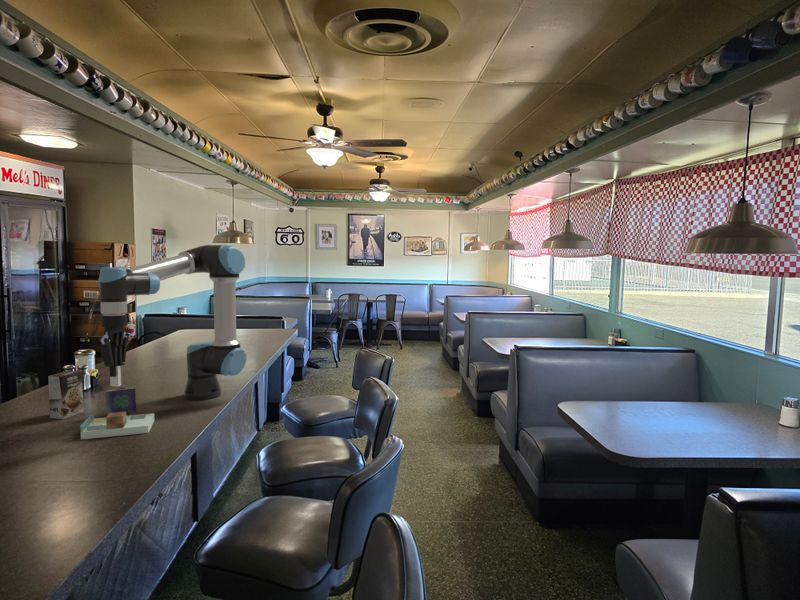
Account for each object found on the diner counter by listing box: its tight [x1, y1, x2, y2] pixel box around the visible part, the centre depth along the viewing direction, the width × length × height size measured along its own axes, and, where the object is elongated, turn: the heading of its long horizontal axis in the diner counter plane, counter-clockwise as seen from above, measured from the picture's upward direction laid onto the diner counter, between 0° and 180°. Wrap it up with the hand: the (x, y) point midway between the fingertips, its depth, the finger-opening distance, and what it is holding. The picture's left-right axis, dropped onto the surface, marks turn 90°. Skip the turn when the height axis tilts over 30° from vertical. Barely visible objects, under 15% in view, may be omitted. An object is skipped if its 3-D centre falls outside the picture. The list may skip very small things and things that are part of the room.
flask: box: [105, 382, 137, 417], centre depth 189 cm, size 10×3×12 cm, turn 121°
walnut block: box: [105, 412, 127, 429], centre depth 168 cm, size 5×5×4 cm
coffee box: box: [47, 370, 84, 420], centre depth 186 cm, size 9×6×16 cm
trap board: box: [79, 412, 156, 440], centre depth 172 cm, size 20×14×4 cm
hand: (115, 385), depth 163 cm, fingers closed
